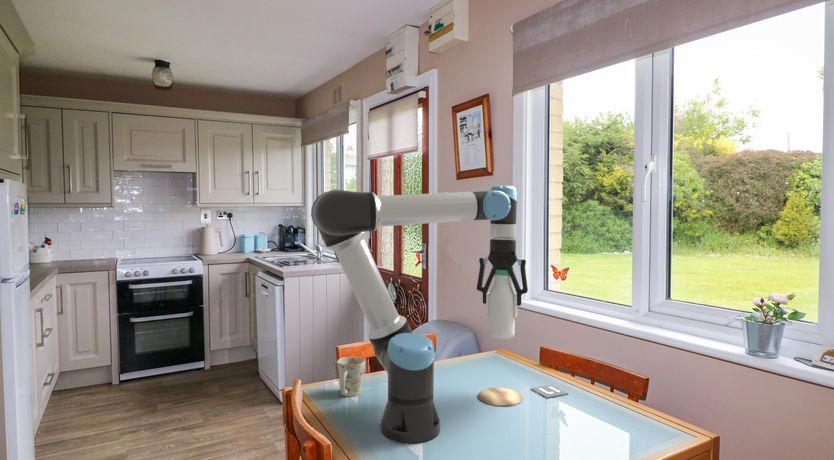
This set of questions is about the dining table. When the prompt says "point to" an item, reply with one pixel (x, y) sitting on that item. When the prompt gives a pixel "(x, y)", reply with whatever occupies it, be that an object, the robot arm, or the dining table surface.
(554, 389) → the tile
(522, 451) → the dining table surface
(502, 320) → the milk bottle
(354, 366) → the mug
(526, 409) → the dining table surface
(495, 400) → the round flatbread
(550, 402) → the dining table surface
